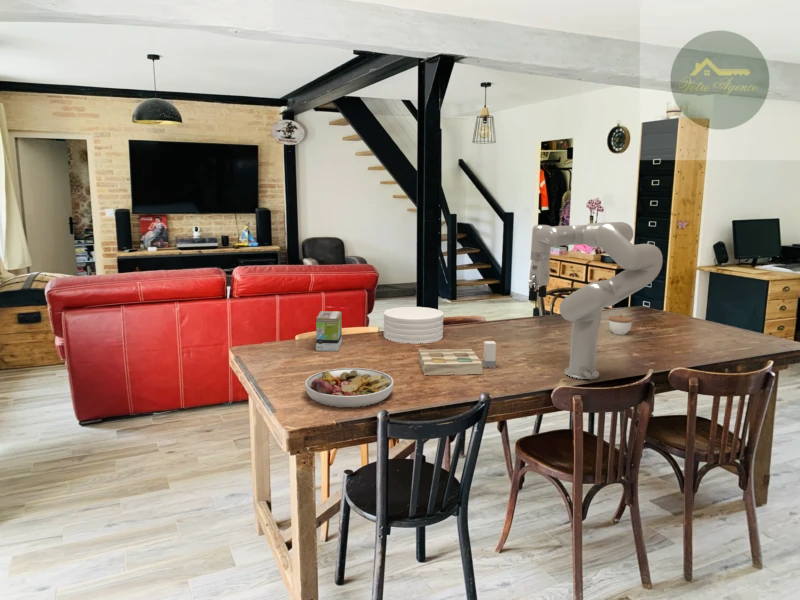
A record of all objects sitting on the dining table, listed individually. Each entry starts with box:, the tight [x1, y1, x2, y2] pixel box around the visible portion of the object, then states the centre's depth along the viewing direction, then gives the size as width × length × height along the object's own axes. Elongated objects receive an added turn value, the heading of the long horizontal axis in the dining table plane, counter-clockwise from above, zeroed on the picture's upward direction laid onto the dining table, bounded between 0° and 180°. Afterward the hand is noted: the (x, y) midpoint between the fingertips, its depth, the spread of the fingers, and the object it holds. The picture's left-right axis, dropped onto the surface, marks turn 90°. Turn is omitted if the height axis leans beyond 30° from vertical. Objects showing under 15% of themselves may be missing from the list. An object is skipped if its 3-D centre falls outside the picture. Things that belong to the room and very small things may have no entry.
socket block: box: [418, 348, 483, 376], centre depth 235 cm, size 20×22×5 cm
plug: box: [482, 340, 497, 369], centre depth 236 cm, size 4×4×10 cm
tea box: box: [315, 310, 343, 352], centre depth 263 cm, size 15×10×15 cm
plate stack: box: [383, 306, 444, 345], centre depth 283 cm, size 28×28×12 cm
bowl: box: [304, 367, 394, 408], centre depth 205 cm, size 30×30×8 cm
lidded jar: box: [608, 314, 633, 336], centre depth 291 cm, size 11×11×9 cm
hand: (537, 298), depth 240 cm, fingers open, 9 cm apart
